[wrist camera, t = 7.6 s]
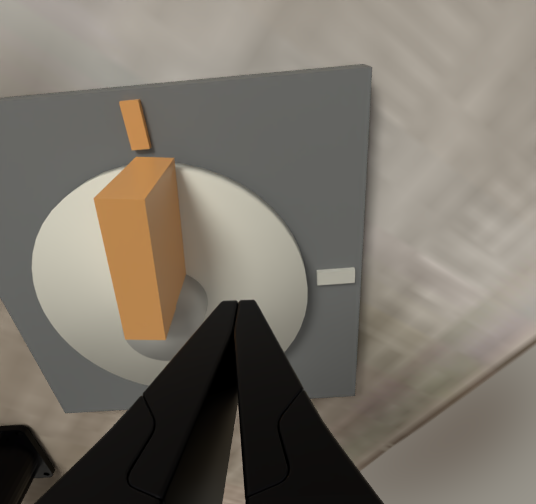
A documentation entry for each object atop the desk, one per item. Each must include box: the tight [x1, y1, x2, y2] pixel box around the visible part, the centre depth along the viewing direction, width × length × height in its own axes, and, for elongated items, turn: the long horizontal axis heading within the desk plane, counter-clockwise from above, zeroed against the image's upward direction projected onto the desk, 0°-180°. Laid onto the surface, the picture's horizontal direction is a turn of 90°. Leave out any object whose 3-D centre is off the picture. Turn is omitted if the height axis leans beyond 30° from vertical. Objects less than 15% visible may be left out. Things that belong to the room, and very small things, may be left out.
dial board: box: [0, 64, 372, 413], centre depth 21 cm, size 20×20×2 cm
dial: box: [32, 157, 308, 386], centre depth 18 cm, size 14×14×6 cm
